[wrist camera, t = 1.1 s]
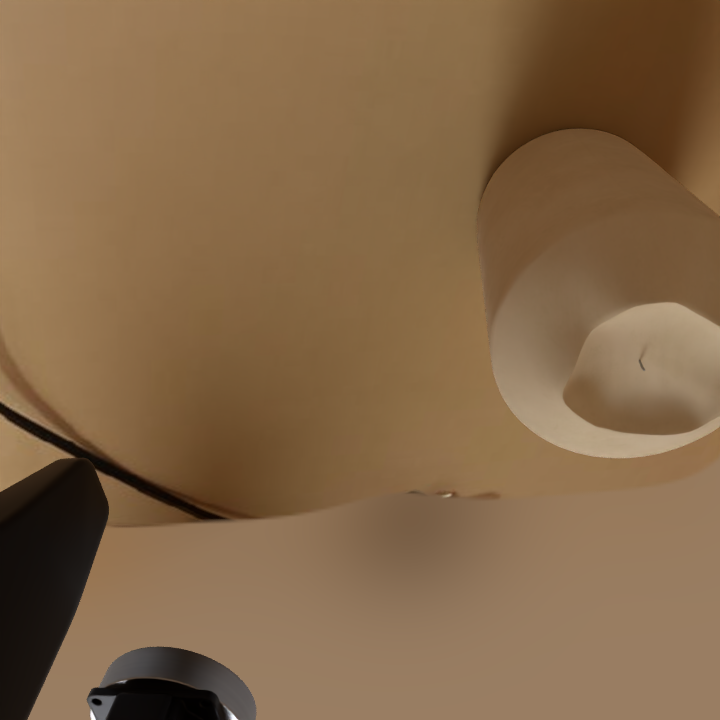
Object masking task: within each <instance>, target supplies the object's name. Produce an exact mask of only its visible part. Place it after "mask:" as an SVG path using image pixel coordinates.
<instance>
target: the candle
mask: <svg viewBox="0 0 720 720" xmlns="http://www.w3.org/2000/svg"><path fill="white" fill-rule="evenodd" d="M477 243H478V251H479V260H480V269H481V277H482V286H483V295H484V303H485V312H486V321H487V329H488V338H489V346H490V354H491V362H492V370H493V373H494V377H495V380H496V384H497V386H498V389H499V391H500V393H501V395H502V397H503V399H504V401H505V402H506V404H507V405H508V407H509V408H510V410H511V411H512V412H513V413H514V414H515V416H516V417H517V418H518V419H519V420H520V421H521V422H522V423H523V424H524V425H525V426H526V427H528V428H529V429H530V430H531V431H532V432H534V433H535V434H537V435H538V436H540V437H541V438H543V439H545V440H546V441H548V442H550V443H552V444H554V445H557V446H559V447H561V448H564V449H567V450H570V451H573V452H575V453H580V454H584V455H589V456H595V457H604V458H633V457H643V456H649V455H654V454H659V453H663V452H666V451H670V450H673V449H676V448H679V447H682V446H684V445H687V444H689V443H692V442H694V441H696V440H698V439H700V438H702V437H704V436H706V435H707V434H709V433H711V432H713V431H714V430H716V429H717V428H719V427H720V216H718V215H717V214H716V213H715V212H714V211H712V210H711V209H710V208H709V207H708V206H706V205H705V204H704V203H703V202H702V201H700V200H699V199H698V198H697V197H696V196H694V195H693V194H692V193H691V192H690V191H688V190H687V189H686V188H685V187H684V186H682V185H681V184H680V183H679V182H678V181H677V180H675V179H674V178H673V177H672V176H671V175H669V174H668V173H667V172H666V171H665V170H663V169H662V168H661V167H660V166H659V165H657V164H656V163H655V162H654V161H653V160H651V159H650V158H649V157H648V156H647V155H645V154H644V153H643V152H641V151H640V150H639V149H638V148H636V147H635V146H633V145H632V144H631V143H629V142H627V141H626V140H624V139H622V138H620V137H618V136H616V135H613V134H610V133H608V132H603V131H599V130H594V129H581V128H579V129H565V130H560V131H554V132H551V133H548V134H545V135H542V136H540V137H538V138H535V139H533V140H531V141H529V142H528V143H526V144H525V145H523V146H521V147H520V148H518V149H517V150H516V151H515V152H513V153H512V154H511V155H510V156H509V157H508V158H507V159H506V160H505V161H504V162H503V163H502V164H501V165H500V166H499V168H498V169H497V170H496V172H495V173H494V174H493V176H492V178H491V179H490V181H489V183H488V185H487V186H486V189H485V191H484V193H483V196H482V198H481V202H480V205H479V209H478V216H477Z"/></svg>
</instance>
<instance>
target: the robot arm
mask: <svg viewBox="0 0 720 720" xmlns="http://www.w3.org/2000/svg"><path fill="white" fill-rule="evenodd" d="M108 515H109V505H108V501H107V498H106V495H105V493H104V490H103V488H102V485H101V483H100V481H99V478H98V476H97V473H96V471H95V468H94V466H93V464H92V463H91V462H90V461H89V460H88V459H86V458H68V459H60V460H57V461H55V462H53V463H51V464H49V465H48V466H46V467H44V468H42V469H41V470H39V471H37V472H35V473H33V474H32V475H30V476H28V477H26V478H25V479H23V480H21V481H19V482H18V483H16V484H14V485H12V486H10V487H9V488H7V489H5V490H3V491H2V492H0V720H27V719H28V717H29V715H30V712H31V710H32V708H33V706H34V704H35V701H36V699H37V697H38V695H39V693H40V690H41V688H42V686H43V684H44V682H45V680H46V677H47V675H48V673H49V671H50V669H51V666H52V664H53V662H54V660H55V658H56V655H57V653H58V651H59V649H60V647H61V645H62V642H63V640H64V638H65V636H66V634H67V631H68V629H69V627H70V625H71V622H72V620H73V617H74V615H75V613H76V610H77V607H78V605H79V602H80V599H81V596H82V593H83V591H84V588H85V585H86V582H87V579H88V576H89V573H90V570H91V567H92V564H93V561H94V558H95V555H96V552H97V549H98V547H99V544H100V541H101V538H102V535H103V532H104V529H105V526H106V523H107V520H108ZM87 702H88V704H89V706H90V708H91V710H92V712H93V714H94V717H95V719H96V720H226V718H225V716H224V713H223V710H222V707H221V704H220V701H219V698H218V696H217V694H215V693H214V692H212V691H209V690H185V689H141V688H93V689H91V691H90V693H89V696H88V698H87Z"/></svg>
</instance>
